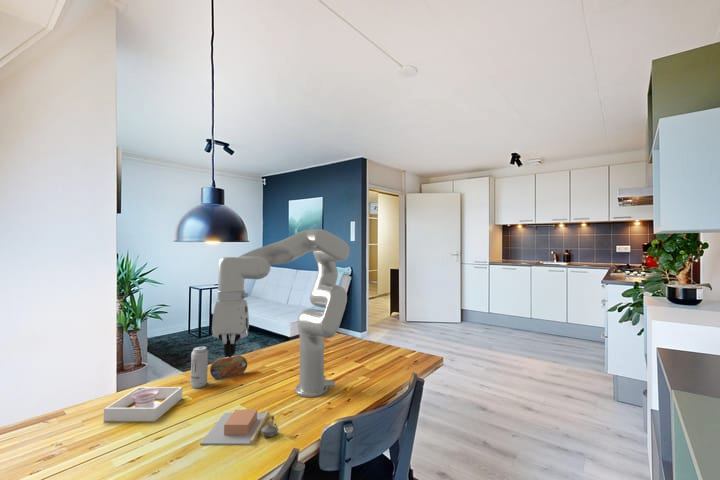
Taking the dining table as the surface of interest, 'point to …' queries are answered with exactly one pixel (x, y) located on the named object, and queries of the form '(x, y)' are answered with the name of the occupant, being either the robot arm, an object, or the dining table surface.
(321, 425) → the dining table surface
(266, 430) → the figurine
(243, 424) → the block
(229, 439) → the mat
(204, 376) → the energy drink can
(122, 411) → the rectangular tray
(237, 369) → the tin
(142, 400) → the teacup
